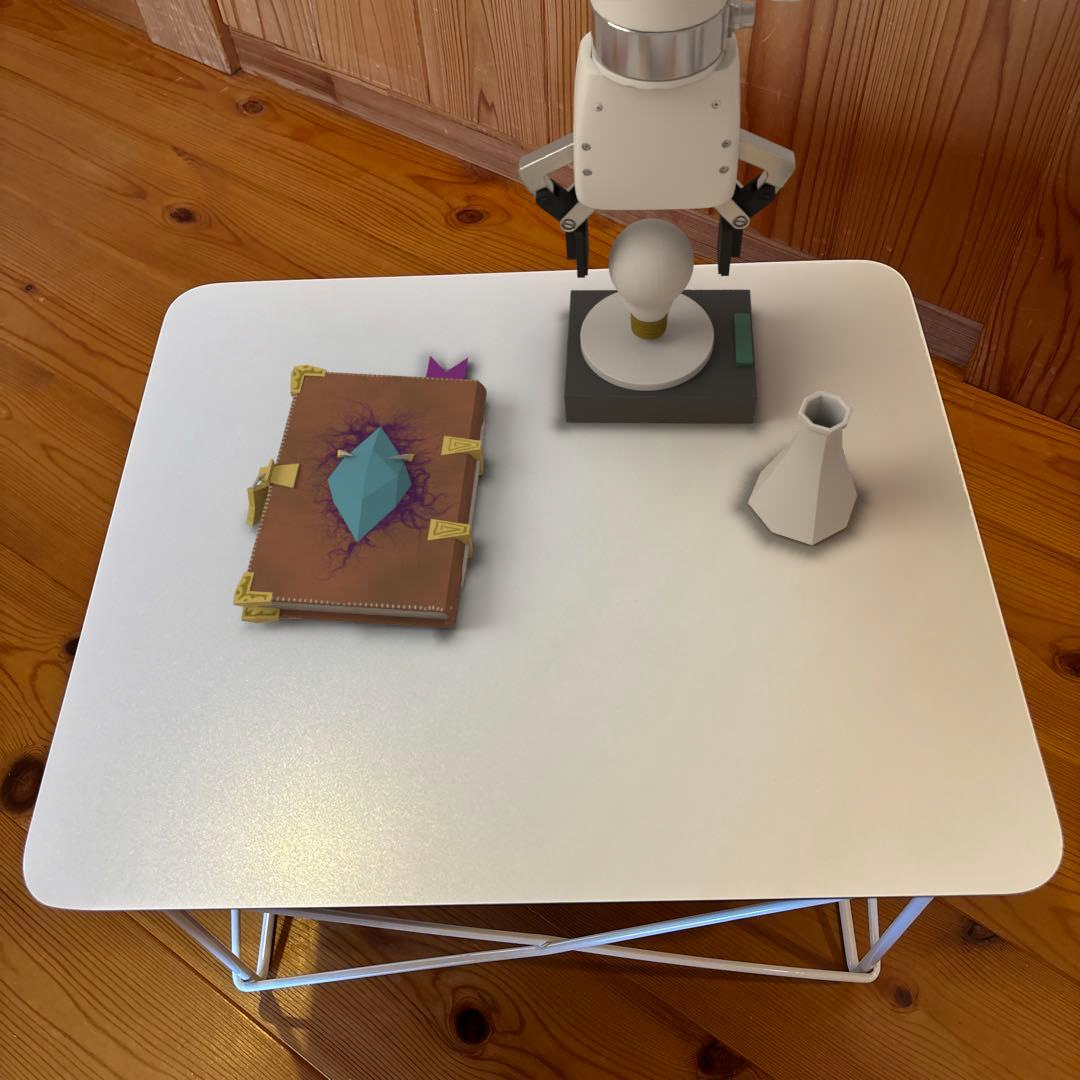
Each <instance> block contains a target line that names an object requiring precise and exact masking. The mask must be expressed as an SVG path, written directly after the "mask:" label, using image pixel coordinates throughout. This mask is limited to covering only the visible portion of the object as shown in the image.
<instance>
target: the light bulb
mask: <svg viewBox="0 0 1080 1080" xmlns="http://www.w3.org/2000/svg"><path fill="white" fill-rule="evenodd" d="M694 257H695V256H694V250H693V246H692V244H691V242H690V240H689V238H688V236H687V235H686V233H684V231H682V230H681V228H680V227H678V226H677V225H676V224H674V223H672V222H670V221H668V220H666V219H662V218H653V217H651V218H650V217H649V218H643V219H639V220H636V221H634V222H632V223H631V224H629V225H627V226H626V227H625V228H623V229H622V230H621V232H620V233H619V234H618V235H617V237H616V238H615V239H614V241H613V243H612V245H611V248H610V251H609V255H608V274H609V277H610V280H611V283H612V284H613V286H614V288H615V290H617V291H618V292H619V293H620V294H621V295H622V296H623V297H624V298H625V300H626V303H627V306H628V308H629V310H630V314H631V329H632V332H633V333H634V334H635V335H636V336H637V337H639V338H641V339H646V340H652V339H656V338H659V337H660V336H662V335H663V334H664V333H665V331H666V327H667V319H668V312H669V310H670V308H671V306H672V303H673V301H674V299H675V298H677V297H678V296H679V295H680V294H681V293H682V292H683V291H684V290H686V288H687V286H688V285H689V283H690V281H691V279H692V276H693V272H694V267H695V258H694Z"/></svg>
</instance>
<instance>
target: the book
mask: <svg viewBox="0 0 1080 1080" xmlns="http://www.w3.org/2000/svg"><path fill="white" fill-rule="evenodd" d="M468 362H469V357H466V358H465V359H463V360H462V361H460V362H459V363H457V364H455V365H454V366H452V367H451V368H450V369H448V370H445V369H444V368H443V367H442V365H440V364H439V363H438V362H437V361H436V360H435V359H434V358H433V357H432V356H431V355H429V359H428V363H427V369H426V374H425V376H409V375H408V376H407V375H389V374H371V373H350V372H333V371H327V369H326V368H322V367H318V366H314V365H309V364H301V365H294V366H293V368H292V370H291V372H290V389H289V390H290V391H289V392H290V396H291V397H292V400H291V404H290V407H289V412H288V415H287V419H286V423H285V427H284V430H283V434H282V438H281V442H280V444H279V445H280V446H279V449H278V453H277V457H276V460H274V458H270V459H269V462H268V465H267V466H260V467H259V470H258V473H257V477H256V478H255V480H254V482H253V484H252V486H249V487H247V488H246V491H247V500H248V509H247V510H248V511H247V519H246V524H247V525H249V526H251V527H254V526H256V525H257V524H258V523H259V525H258V528H257V533H256V537H255V540H254V543H253V547H252V551H251V555H250V559H249V563H248V565H247V570H246V571H244V573H243V574H242V576H241V578H240V580H239V582H238V584H237V586H236V588H235V590H234V594H233V602H232V604H233V606H238V607H242V612H241V617H240V619H241V622H246V623H252V624H263V623H270V622H271V623H272V622H280V621H281V619H290V620H291V619H292V620H293V619H294V620H308V621H309V620H311V621H325V622H340V623H341V622H343V623H356V624H357V623H359V624H374V625H375V624H376V625H390V626H407V627H420V628H421V627H422V628H439V629H449V628H450V627H452V626H454V625H455V623H457V616H458V610H459V602H460V595H461V590H462V591H463V587H464V582H465V578H466V575H467V568H468V560H469V559H472V558H473V550H474V548H473V539H472V531H473V524H474V514H475V507H476V502H477V501H476V499H477V493H478V485H479V479H480V478H479V477H480V476H483V473H484V457H483V448H484V440H485V431H486V430H485V427H486V417H484V416H485V408H486V403H487V402H486V401H487V396H488V395H487V394H488V393H487V392H488V391H487V388H486V387H485V385H484V384H483V383H482V382H481V381H479V380H478V379H468V378H467V379H466V375H467V369H468ZM259 482H260V483H259Z"/></svg>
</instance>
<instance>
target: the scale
mask: <svg viewBox="0 0 1080 1080" xmlns="http://www.w3.org/2000/svg"><path fill="white" fill-rule="evenodd" d="M754 342H755V341H754V327H753V312H752V298H751V290H750V289H684V291H683V292H682V293H681V294H680V295H679V296H678V297H677V298H675V299H674V301H673V303H672V306H671V308H670V310H669V312H668V319H667V327H666V331H665V333H664V334H663V335H662V336H660V337H659V338H656V339H652V340H646V339H641V338H639V337H637V336H636V335H635V334H634V333H633V332H632V329H631V314H630V310H629V308H628V306H627V303H626V300H625V298H624V297H623V296H622V295H621V294H620V293H619V292H618V291H617V289H571V290H570V297H569V311H568V329H567V345H566V346H567V347H566V359H565V360H566V361H565V377H564V378H565V379H564V394H563V397H564V398H563V399H564V413H565V416H564V417H565V422H566V423H634V424H635V423H637V424H638V423H639V424H640V423H642V424H643V423H647V424H649V423H650V424H651V423H652V424H653V423H659V424H662V423H664V424H753V423H754V419H755V413H756V409H757V402H758V386H757V384H758V383H757V371H756V357H755V343H754Z"/></svg>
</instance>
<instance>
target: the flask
mask: <svg viewBox="0 0 1080 1080" xmlns="http://www.w3.org/2000/svg"><path fill="white" fill-rule="evenodd" d="M853 411H854V408H853V407H852V406H851V405H850V404H849V403H848V402H847V401H846V400H845V398H843V396H841V395H839V394H835V393H832V392H829V391H825V390H818V391H816V392H814V393H812V394H810V395H808V396H805V397H804V398H803V401H802V403H801V406H800V408H799V410H798V413H797V418H798V419H799V420H800V425H799V428H798V430H797V432H796V433H795V435H794V437H793V438H792V439H790V441H789V442H788V443H787V444H786V445H785V447H784V448H783V449H782V450H781V451H780V452H779V453H778V454H777V455H776V456H775V457H774V458H773V459H772V460H771V461H770V462H769V463H768V464H767V465H766V466H765V467H764V468H763V469H762V471H760V473H759V476H758V478H757V480H756V483H755V485H754V487H753V490H752V492H751V495H750V496H749V499H748V502H747V504H748V505H749V506H750V507H751V509H752V510H753V511H754V513H755V514H756V515H757V516H758V517H759V519H760V520H761V521H762V522H763V524H765V526H766V527H767V528H768V529H769V531H770V532H771V533H773V534H776V535H779V536H783V537H784V538H785V537H786V538H789V539H792V540H794V541H797V542H801V543H804V544H806V545H807V544H808V545H810V546H814V545H815V544H817V543H819V542H821V541H823V540H826V539H827V538H829V537H831V536H833V535H834V534H836V533H838V532H840V531H842V530H844V529H846V528H847V527H848V524H849V521H850V518H851V515H852V512H853V510H854V507H855V503H856V501H857V498H858V492H857V490H856V489H857V488H856V487H855V484H854V480H853V478H852V475H851V471H850V470H849V466H848V461H847V458H846V455H845V450H844V447H843V430H844V429H846V428H847V426H848V424H849V421H850V419H851V416H852V413H853Z"/></svg>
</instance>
